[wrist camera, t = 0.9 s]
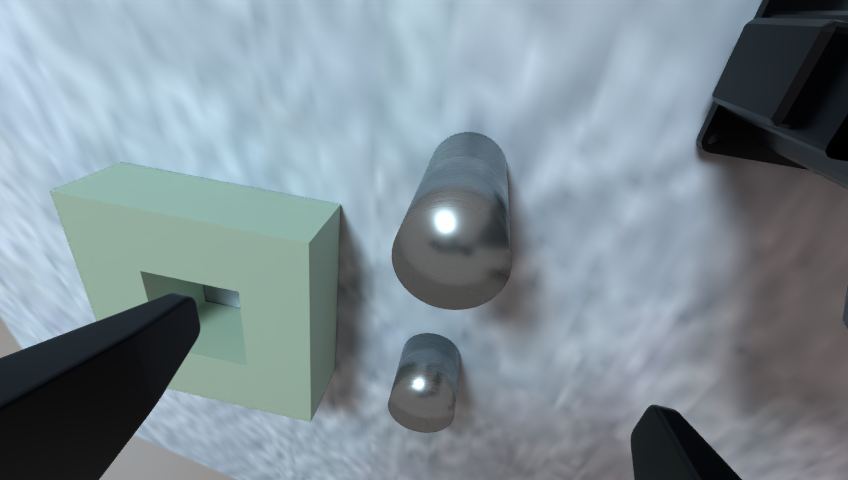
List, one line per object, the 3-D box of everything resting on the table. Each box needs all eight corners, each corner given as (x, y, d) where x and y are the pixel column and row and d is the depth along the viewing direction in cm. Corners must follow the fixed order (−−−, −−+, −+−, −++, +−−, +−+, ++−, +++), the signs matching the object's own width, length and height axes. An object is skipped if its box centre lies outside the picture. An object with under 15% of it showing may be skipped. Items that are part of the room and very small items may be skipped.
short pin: (464, 340, 24) (459, 395, 20) (454, 381, 26) (447, 438, 22) (406, 328, 24) (391, 380, 21) (400, 369, 26) (385, 424, 22)
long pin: (515, 139, 18) (525, 220, 11) (497, 211, 20) (496, 319, 13) (436, 125, 18) (397, 196, 11) (425, 197, 20) (386, 296, 13)
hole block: (340, 204, 21) (308, 243, 17) (335, 369, 27) (310, 422, 23) (121, 162, 22) (49, 190, 18) (164, 330, 28) (116, 376, 24)
